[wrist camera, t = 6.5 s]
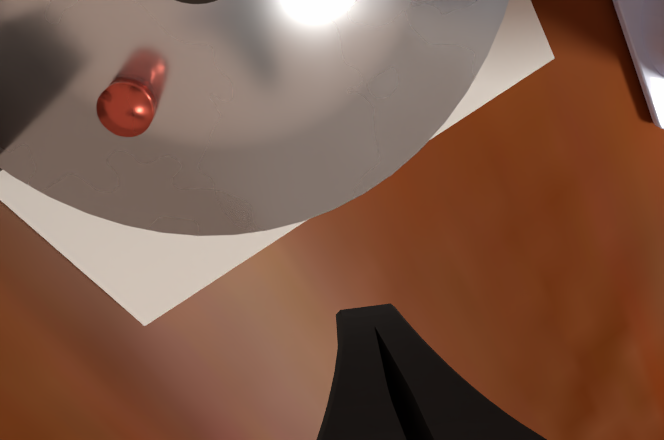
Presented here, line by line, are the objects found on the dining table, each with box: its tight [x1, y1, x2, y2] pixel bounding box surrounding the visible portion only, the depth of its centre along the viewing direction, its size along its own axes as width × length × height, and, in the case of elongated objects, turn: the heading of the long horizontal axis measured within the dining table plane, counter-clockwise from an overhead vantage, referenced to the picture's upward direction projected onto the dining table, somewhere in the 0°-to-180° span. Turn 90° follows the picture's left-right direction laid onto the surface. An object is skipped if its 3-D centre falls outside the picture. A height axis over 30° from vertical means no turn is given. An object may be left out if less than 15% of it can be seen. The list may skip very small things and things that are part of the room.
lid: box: [0, 0, 509, 236], centre depth 11 cm, size 22×14×2 cm, turn 121°
